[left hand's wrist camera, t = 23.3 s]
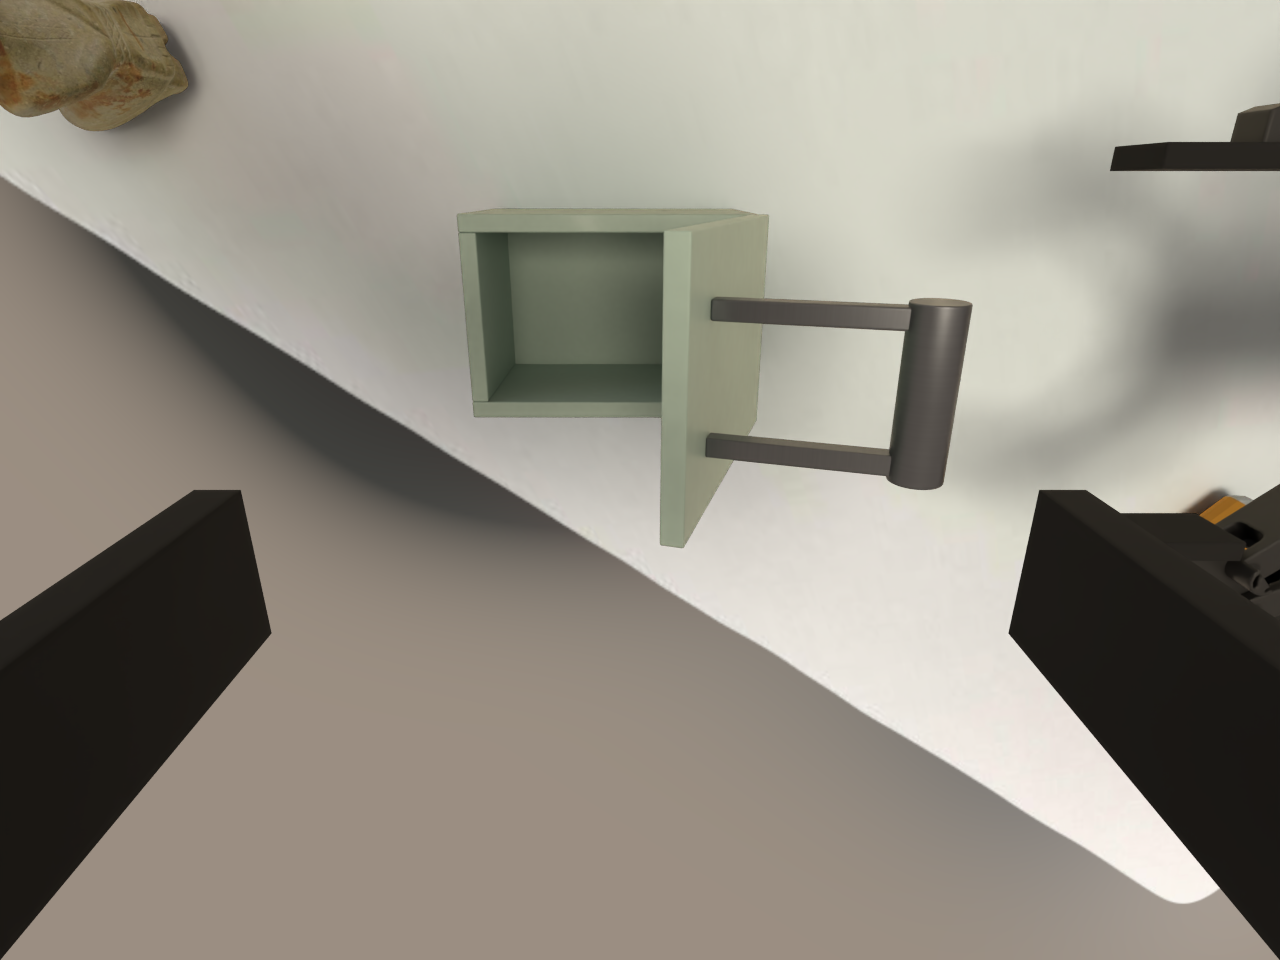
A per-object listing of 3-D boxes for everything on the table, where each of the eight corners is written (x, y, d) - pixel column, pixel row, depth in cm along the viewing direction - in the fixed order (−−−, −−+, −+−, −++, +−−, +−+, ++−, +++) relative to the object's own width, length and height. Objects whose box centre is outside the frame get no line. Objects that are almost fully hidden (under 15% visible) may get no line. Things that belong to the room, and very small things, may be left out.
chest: (505, 373, 46) (473, 417, 37) (494, 208, 42) (456, 213, 33) (726, 374, 46) (747, 418, 37) (733, 209, 42) (758, 214, 33)
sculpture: (44, 32, 39) (-291, -55, 25) (167, -10, 38) (-106, -126, 24) (102, 149, 41) (-177, 129, 27) (220, 111, 40) (-4, 69, 26)
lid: (659, 545, 24) (939, 585, 21) (663, 229, 20) (999, 236, 18) (740, 419, 37) (920, 435, 34) (751, 214, 33) (952, 216, 31)
